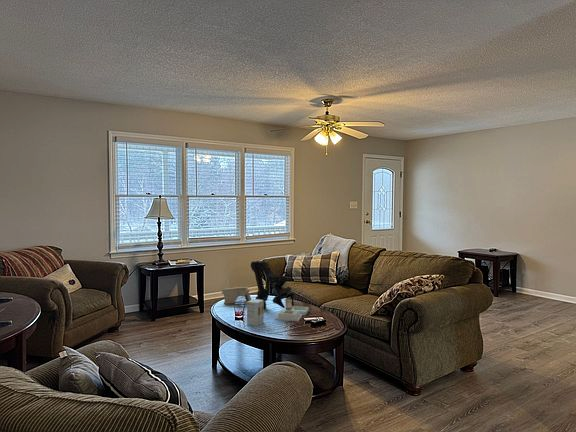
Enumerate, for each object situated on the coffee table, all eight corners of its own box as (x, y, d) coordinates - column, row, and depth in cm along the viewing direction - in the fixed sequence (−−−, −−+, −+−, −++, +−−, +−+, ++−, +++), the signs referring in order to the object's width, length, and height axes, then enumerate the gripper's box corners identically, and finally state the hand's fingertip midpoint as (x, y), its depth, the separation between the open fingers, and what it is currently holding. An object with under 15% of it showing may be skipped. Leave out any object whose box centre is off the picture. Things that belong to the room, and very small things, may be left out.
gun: (252, 303, 339) (250, 286, 338) (251, 304, 336) (249, 287, 335) (224, 305, 342) (222, 288, 341) (223, 306, 338) (221, 289, 338)
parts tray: (290, 314, 308) (290, 310, 308) (294, 309, 320) (293, 306, 320) (305, 315, 305) (305, 311, 305) (308, 310, 317) (308, 307, 317)
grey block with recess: (274, 319, 295) (274, 313, 295) (279, 314, 308) (279, 308, 308) (298, 321, 290) (298, 315, 290) (302, 315, 304) (302, 310, 304)
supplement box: (257, 326, 280) (257, 303, 279) (246, 324, 284) (246, 301, 283) (264, 322, 289) (263, 299, 288) (252, 321, 292) (252, 298, 291)
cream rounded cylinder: (284, 317, 298) (284, 300, 297) (286, 315, 302) (286, 298, 302) (291, 317, 296) (290, 300, 296) (292, 315, 301) (292, 298, 300)
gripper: (274, 285, 296) (284, 303, 288) (293, 282, 308) (303, 298, 300) (268, 294, 302) (277, 311, 294) (286, 290, 314) (296, 306, 307)
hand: (289, 306), depth 299 cm, fingers open, 9 cm apart
